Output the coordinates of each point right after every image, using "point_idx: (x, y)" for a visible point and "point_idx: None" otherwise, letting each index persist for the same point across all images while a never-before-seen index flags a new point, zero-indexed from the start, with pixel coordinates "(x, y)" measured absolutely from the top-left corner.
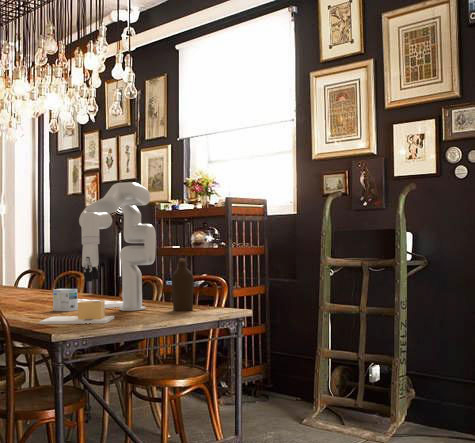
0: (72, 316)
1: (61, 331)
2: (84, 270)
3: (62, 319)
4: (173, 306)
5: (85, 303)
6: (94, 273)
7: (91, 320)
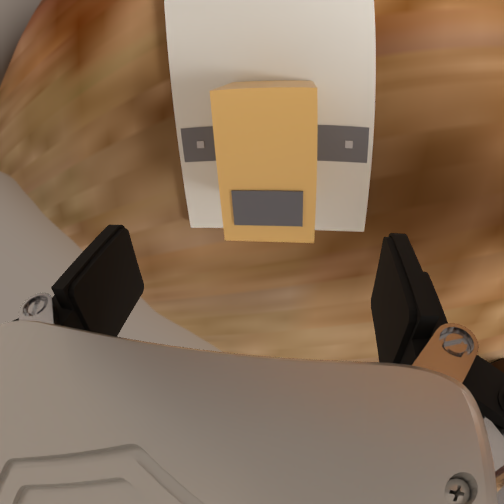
0: (365, 17)
1: (12, 138)
2: (22, 308)
3: (227, 2)
4: (500, 369)
5: (216, 142)
6: (387, 326)
7: (185, 167)
